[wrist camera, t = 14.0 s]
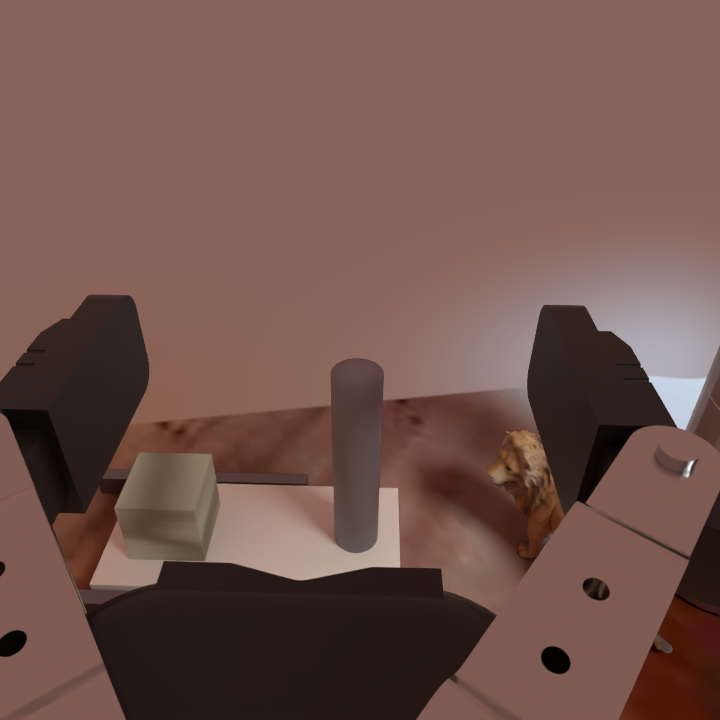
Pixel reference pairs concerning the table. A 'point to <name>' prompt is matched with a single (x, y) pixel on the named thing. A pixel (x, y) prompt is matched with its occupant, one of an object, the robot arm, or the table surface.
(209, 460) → the block
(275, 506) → the base with upright peg
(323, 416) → the table surface
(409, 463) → the table surface
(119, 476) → the guide rails
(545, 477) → the lion figurine
